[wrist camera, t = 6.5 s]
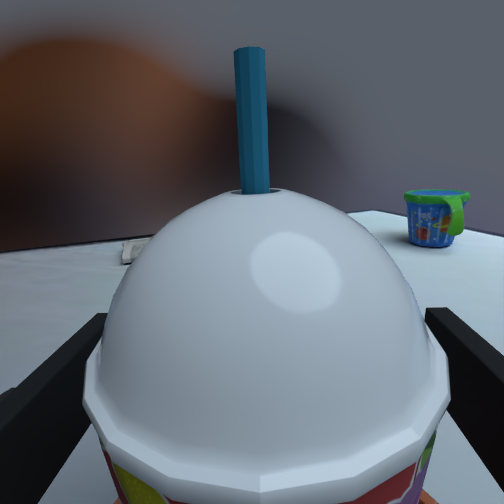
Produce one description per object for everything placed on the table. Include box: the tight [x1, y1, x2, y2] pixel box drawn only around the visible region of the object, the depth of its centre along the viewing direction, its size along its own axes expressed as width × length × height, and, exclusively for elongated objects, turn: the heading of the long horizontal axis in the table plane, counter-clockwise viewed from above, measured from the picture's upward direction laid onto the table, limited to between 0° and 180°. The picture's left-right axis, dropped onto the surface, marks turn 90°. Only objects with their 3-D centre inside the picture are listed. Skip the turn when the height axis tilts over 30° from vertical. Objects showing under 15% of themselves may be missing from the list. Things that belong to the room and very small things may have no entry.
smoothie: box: [82, 47, 451, 504], centre depth 9 cm, size 8×8×20 cm
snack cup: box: [404, 190, 470, 247], centre depth 60 cm, size 16×10×10 cm
